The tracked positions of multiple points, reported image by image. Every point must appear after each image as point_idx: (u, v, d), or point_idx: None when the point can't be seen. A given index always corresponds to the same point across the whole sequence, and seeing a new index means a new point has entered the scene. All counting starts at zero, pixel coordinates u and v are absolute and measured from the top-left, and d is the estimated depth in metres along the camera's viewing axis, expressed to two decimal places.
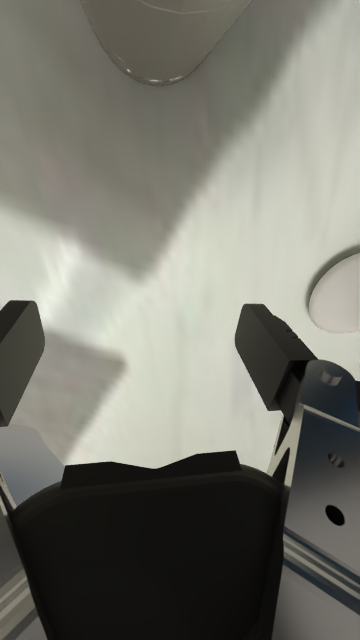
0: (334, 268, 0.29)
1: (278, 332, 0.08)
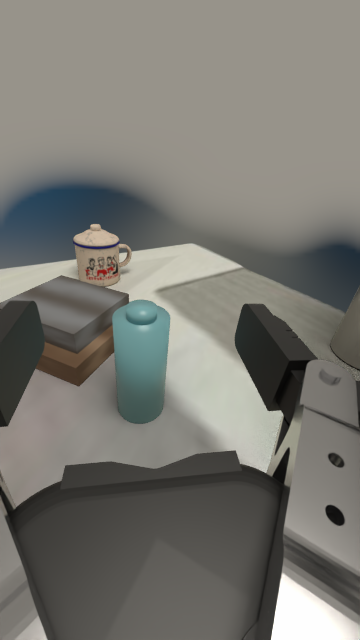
0: None
1: (278, 332, 0.08)
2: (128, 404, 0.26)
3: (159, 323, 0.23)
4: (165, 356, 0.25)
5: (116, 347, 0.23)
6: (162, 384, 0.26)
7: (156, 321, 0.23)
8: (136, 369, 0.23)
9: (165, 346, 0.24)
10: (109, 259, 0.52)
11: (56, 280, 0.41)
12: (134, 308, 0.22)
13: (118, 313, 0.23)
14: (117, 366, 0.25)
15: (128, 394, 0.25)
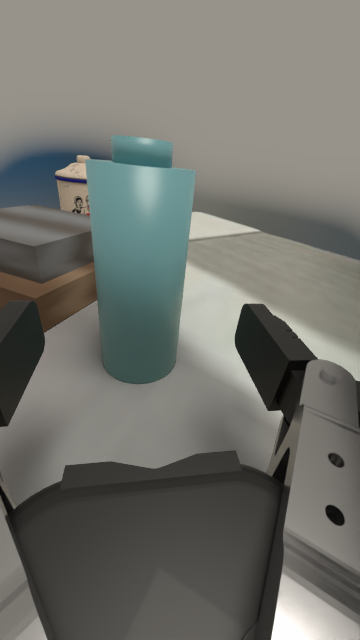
0: None
1: (278, 332, 0.08)
2: (118, 345, 0.15)
3: (177, 169, 0.12)
4: (184, 252, 0.14)
5: (93, 222, 0.12)
6: (177, 312, 0.15)
7: (171, 168, 0.12)
8: (131, 263, 0.12)
9: (186, 226, 0.13)
10: None
11: (25, 207, 0.30)
12: None
13: (98, 160, 0.12)
14: (97, 268, 0.13)
15: (118, 325, 0.14)
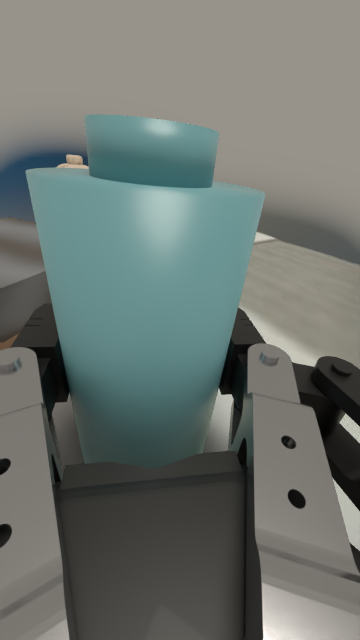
0: None
1: None
2: None
3: (230, 191, 0.05)
4: (229, 338, 0.07)
5: (52, 298, 0.06)
6: (208, 425, 0.09)
7: (216, 188, 0.06)
8: (129, 383, 0.06)
9: (238, 299, 0.06)
10: None
11: None
12: None
13: (63, 169, 0.06)
14: (67, 372, 0.07)
15: None
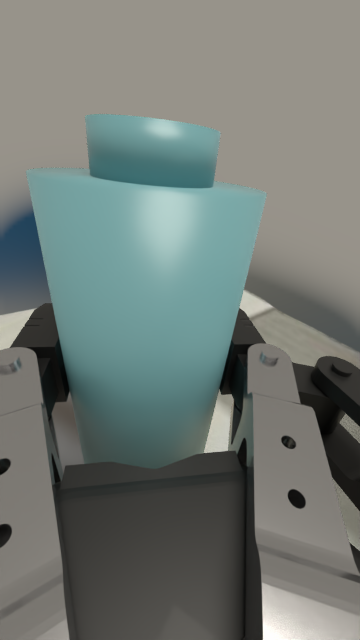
0: None
1: None
2: None
3: (232, 191, 0.05)
4: (230, 339, 0.07)
5: (53, 298, 0.06)
6: (209, 425, 0.09)
7: (217, 188, 0.05)
8: (130, 384, 0.06)
9: (239, 299, 0.06)
10: None
11: None
12: None
13: (63, 169, 0.06)
14: (67, 372, 0.07)
15: None
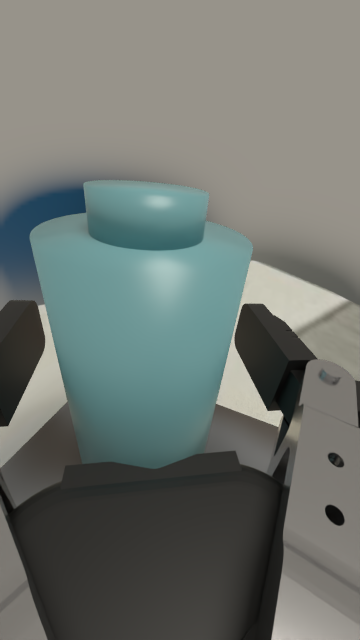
0: None
1: (278, 332, 0.08)
2: None
3: (220, 249, 0.06)
4: (222, 373, 0.08)
5: (55, 344, 0.06)
6: (204, 448, 0.10)
7: (206, 244, 0.06)
8: (127, 422, 0.06)
9: (229, 340, 0.07)
10: None
11: None
12: (119, 186, 0.06)
13: (64, 222, 0.07)
14: (69, 405, 0.08)
15: None
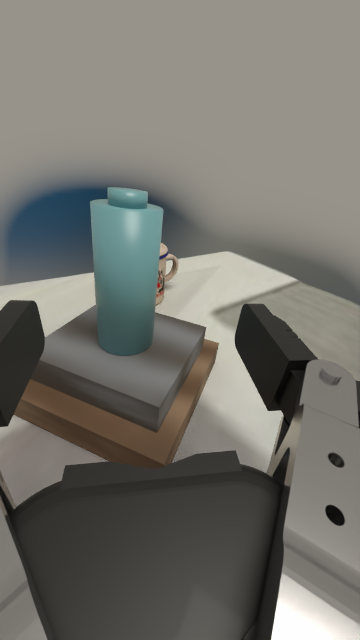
0: None
1: (278, 332, 0.08)
2: (110, 326, 0.21)
3: (150, 210, 0.18)
4: (156, 262, 0.20)
5: (95, 242, 0.19)
6: (152, 304, 0.22)
7: (146, 209, 0.18)
8: (119, 269, 0.19)
9: (156, 245, 0.19)
10: None
11: None
12: (118, 189, 0.18)
13: (98, 201, 0.19)
14: (96, 272, 0.20)
15: (110, 312, 0.21)
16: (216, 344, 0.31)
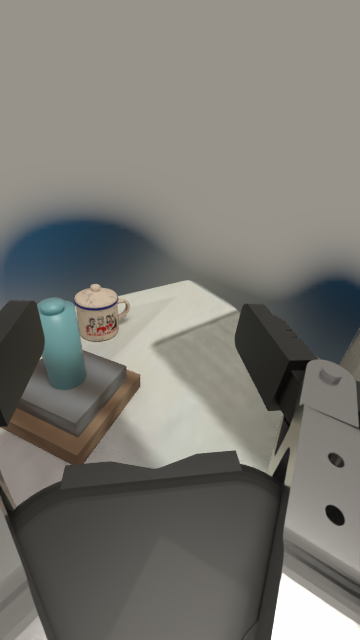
0: None
1: (278, 332, 0.08)
2: (52, 375, 0.35)
3: (64, 314, 0.32)
4: (74, 338, 0.34)
5: None
6: (77, 359, 0.36)
7: (62, 313, 0.32)
8: (50, 347, 0.33)
9: (72, 330, 0.33)
10: (108, 317, 0.55)
11: None
12: (45, 304, 0.32)
13: None
14: None
15: (50, 367, 0.35)
16: (138, 375, 0.45)
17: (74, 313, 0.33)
